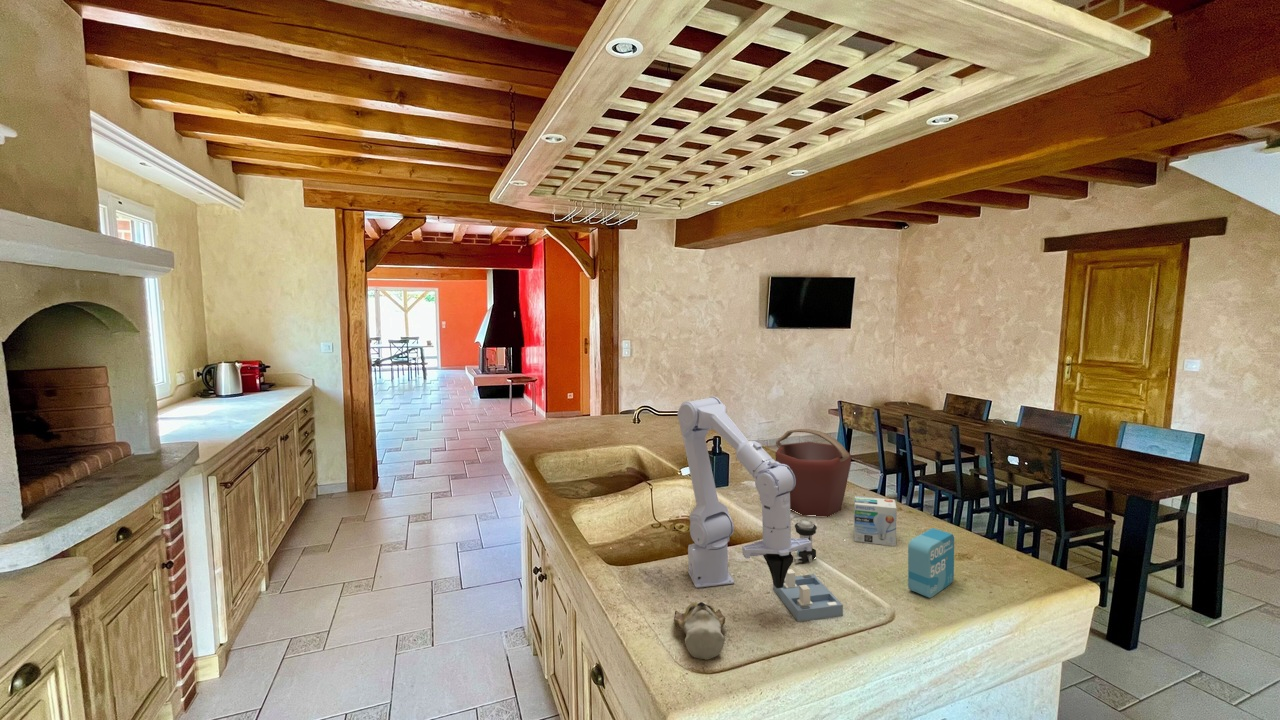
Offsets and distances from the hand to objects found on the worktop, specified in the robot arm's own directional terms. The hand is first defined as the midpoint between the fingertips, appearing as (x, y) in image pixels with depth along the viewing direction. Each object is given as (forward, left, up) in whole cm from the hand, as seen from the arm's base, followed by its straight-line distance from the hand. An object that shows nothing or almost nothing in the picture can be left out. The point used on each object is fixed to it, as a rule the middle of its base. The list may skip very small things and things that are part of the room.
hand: (778, 585), depth 109 cm
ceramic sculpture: (-18, -5, -7) cm, 20 cm away
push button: (+16, +21, -7) cm, 27 cm away
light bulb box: (+40, +28, -7) cm, 49 cm away
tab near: (+6, 0, -6) cm, 8 cm away
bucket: (+35, +54, -7) cm, 65 cm away
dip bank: (+8, +4, -7) cm, 11 cm away
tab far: (+6, +7, -5) cm, 11 cm away
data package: (+38, +3, -7) cm, 39 cm away
